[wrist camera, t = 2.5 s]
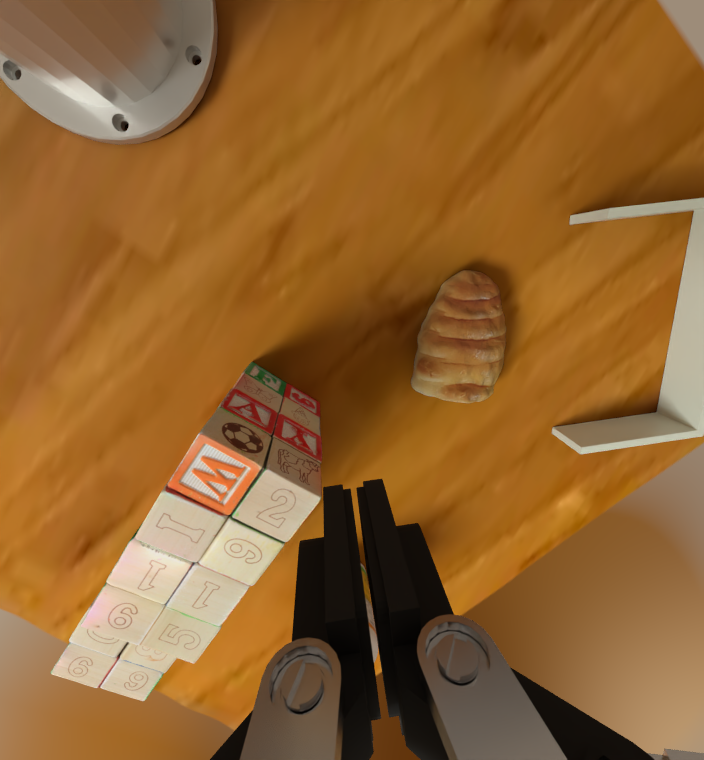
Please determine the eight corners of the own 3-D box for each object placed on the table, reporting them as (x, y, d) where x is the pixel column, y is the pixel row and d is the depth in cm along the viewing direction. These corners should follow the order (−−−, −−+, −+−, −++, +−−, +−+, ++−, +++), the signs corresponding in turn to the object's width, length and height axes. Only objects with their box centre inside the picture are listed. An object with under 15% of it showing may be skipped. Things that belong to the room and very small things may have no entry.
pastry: (420, 266, 25) (438, 267, 22) (509, 272, 26) (540, 274, 22) (405, 390, 28) (419, 408, 25) (486, 392, 29) (510, 410, 25)
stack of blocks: (190, 583, 32) (117, 766, 21) (123, 556, 31) (3, 736, 19) (321, 400, 28) (325, 500, 16) (251, 357, 26) (198, 433, 15)
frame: (570, 215, 25) (609, 208, 22) (703, 200, 25) (761, 191, 22) (552, 433, 30) (580, 454, 27) (661, 417, 31) (703, 436, 28)
